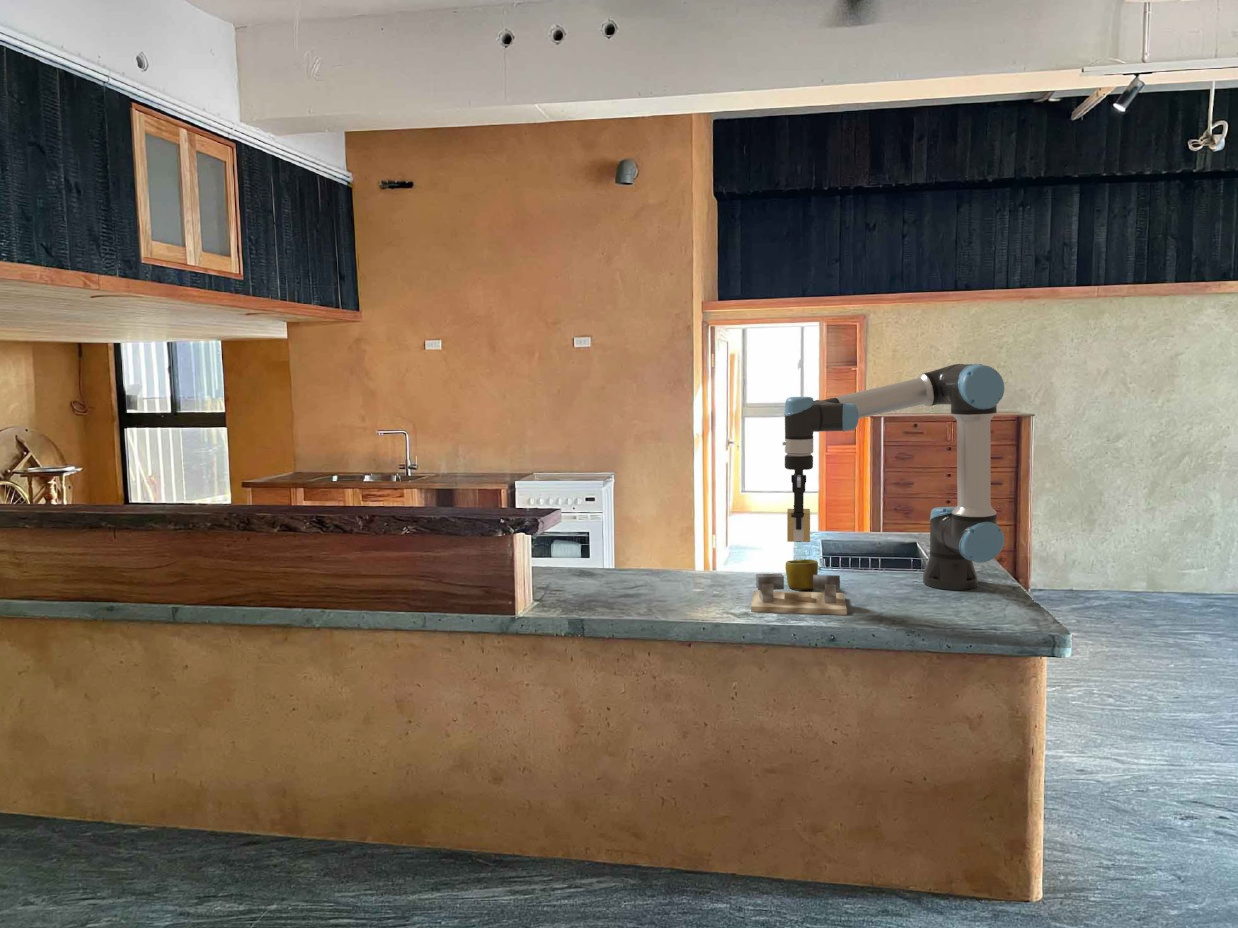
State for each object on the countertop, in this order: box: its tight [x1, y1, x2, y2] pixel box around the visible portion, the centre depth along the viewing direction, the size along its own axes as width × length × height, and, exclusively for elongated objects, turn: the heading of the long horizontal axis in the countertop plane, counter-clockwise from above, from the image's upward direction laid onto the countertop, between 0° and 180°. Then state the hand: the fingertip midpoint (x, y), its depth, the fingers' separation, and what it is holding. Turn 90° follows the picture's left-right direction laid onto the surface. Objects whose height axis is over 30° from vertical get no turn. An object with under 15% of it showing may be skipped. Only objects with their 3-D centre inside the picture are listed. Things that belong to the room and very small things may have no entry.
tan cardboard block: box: [786, 508, 811, 543], centre depth 244 cm, size 6×6×8 cm
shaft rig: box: [750, 572, 848, 616], centre depth 246 cm, size 25×16×8 cm, turn 79°
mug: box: [785, 558, 819, 591], centre depth 265 cm, size 12×10×10 cm
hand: (798, 538), depth 244 cm, fingers closed on tan cardboard block, 6 cm apart
